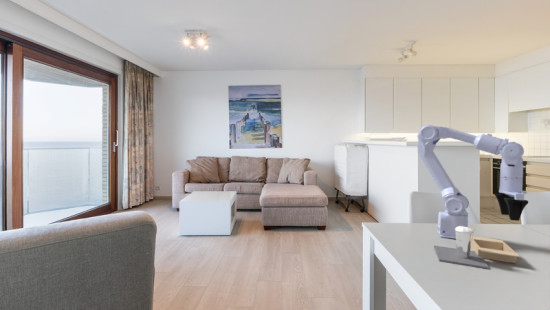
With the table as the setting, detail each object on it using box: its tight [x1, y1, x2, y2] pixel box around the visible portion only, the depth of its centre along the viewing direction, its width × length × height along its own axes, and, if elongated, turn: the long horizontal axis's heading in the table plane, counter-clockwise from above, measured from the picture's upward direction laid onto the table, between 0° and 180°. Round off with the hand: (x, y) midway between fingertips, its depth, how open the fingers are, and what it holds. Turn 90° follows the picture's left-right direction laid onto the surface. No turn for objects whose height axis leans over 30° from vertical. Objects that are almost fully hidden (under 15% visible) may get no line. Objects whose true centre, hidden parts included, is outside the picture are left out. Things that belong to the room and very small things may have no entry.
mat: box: [433, 245, 490, 270], centre depth 82 cm, size 12×12×1 cm
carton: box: [470, 236, 521, 264], centre depth 84 cm, size 9×14×3 cm, turn 156°
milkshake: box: [455, 226, 477, 258], centre depth 81 cm, size 4×5×10 cm
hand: (509, 217), depth 90 cm, fingers open, 7 cm apart
